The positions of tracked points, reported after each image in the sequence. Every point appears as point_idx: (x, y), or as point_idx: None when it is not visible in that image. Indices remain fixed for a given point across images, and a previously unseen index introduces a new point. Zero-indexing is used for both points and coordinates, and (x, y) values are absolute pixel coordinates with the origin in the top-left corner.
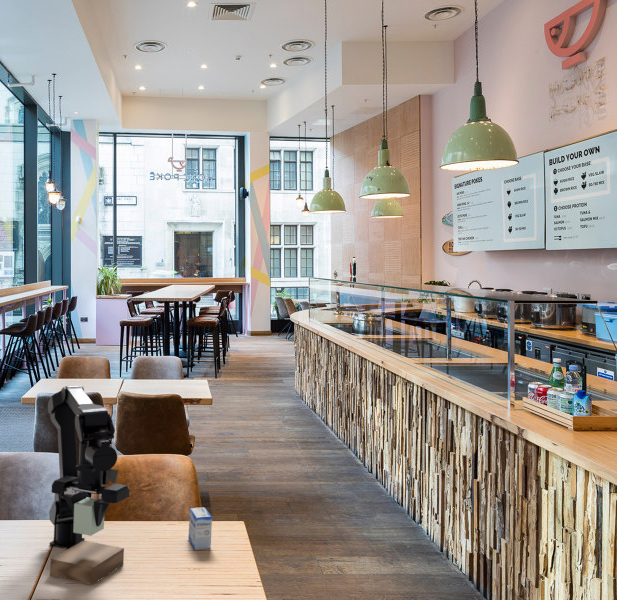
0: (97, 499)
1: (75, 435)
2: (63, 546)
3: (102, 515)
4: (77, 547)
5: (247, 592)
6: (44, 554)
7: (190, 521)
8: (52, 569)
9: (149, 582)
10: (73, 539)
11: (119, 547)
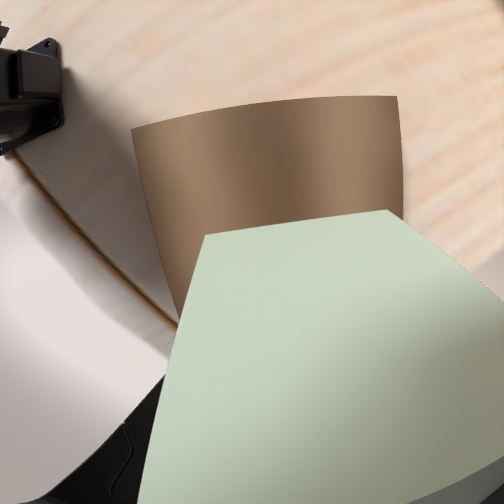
0: (467, 480)
1: None
2: (41, 135)
3: None
4: (180, 213)
5: None
6: (42, 210)
7: None
8: None
9: (495, 184)
10: (44, 100)
11: (373, 97)
